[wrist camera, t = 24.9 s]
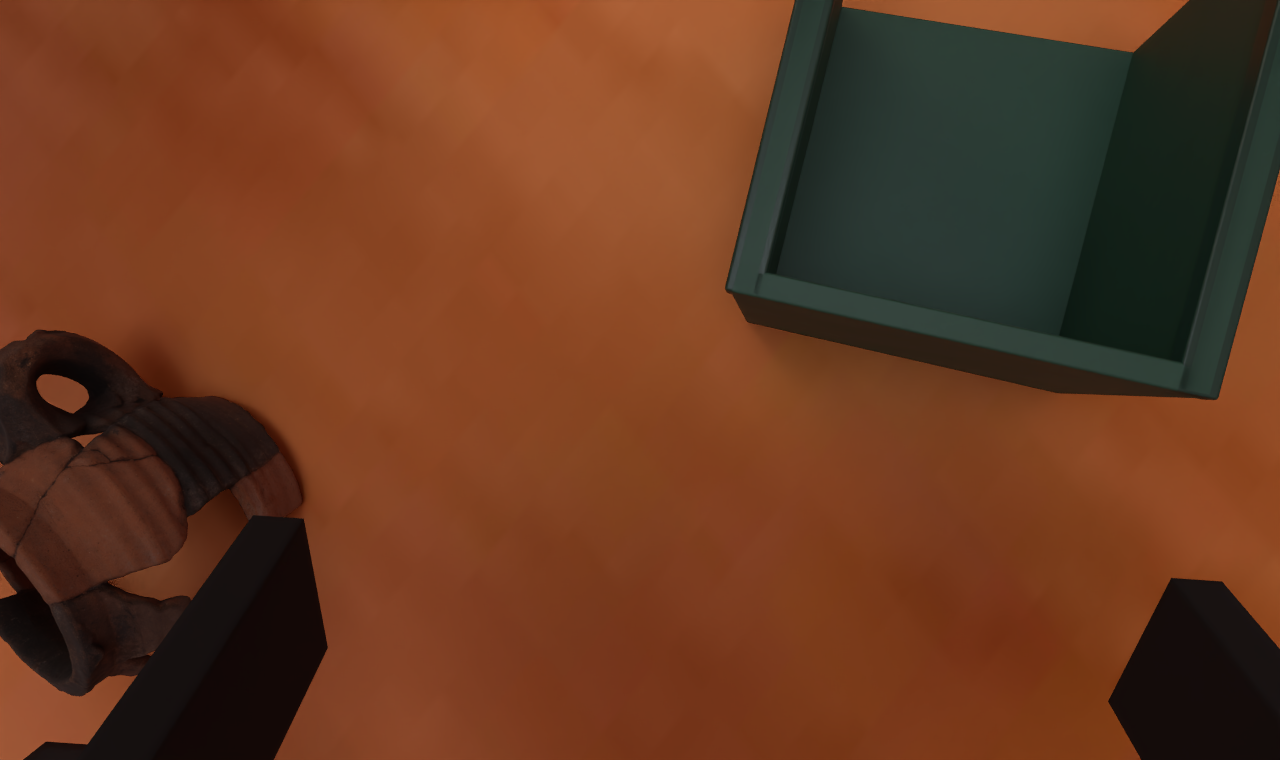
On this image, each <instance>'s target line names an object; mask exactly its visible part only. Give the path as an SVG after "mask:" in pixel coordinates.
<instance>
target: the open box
mask: <svg viewBox="0 0 1280 760" xmlns="http://www.w3.org/2000/svg"><path fill="white" fill-rule="evenodd" d="M842 2H843V0H795V3H794V7H793V11H792V15H791V19H790V23H789V27H788V31H787V35H786V39H785V44H784V48H783V52H782V56H781V60H780V64H779V68H778V72H777V76H776V81H775V85H774V89H773V93H772V97H771V101H770V105H769V109H768V113H767V117H766V122H765V126H764V130H763V134H762V138H761V142H760V146H759V150H758V154H757V158H756V163H755V167H754V171H753V175H752V179H751V183H750V187H749V191H748V195H747V199H746V204H745V208H744V212H743V216H742V220H741V224H740V228H739V232H738V236H737V240H736V245H735V249H734V253H733V257H732V261H731V265H730V269H729V273H728V277H727V281H726V286H725V290H726V292H727V293H729V294H732V295H733V296H734V298H735V300H736V302H737V304H738V306H739V308H740V309H741V311H742V313H743V315H744V317H745V319H746V321H747V322H750V323H754V324H758V325H763V326H767V327H771V328H776V329H780V330H785V331H789V332H793V333H798V334H802V335H806V336H811V337H815V338H819V339H824V340H828V341H833V342H837V343H841V344H846V345H850V346H854V347H859V348H863V349H867V350H872V351H876V352H881V353H885V354H889V355H894V356H898V357H902V358H907V359H911V360H915V361H920V362H924V363H929V364H933V365H937V366H942V367H946V368H950V369H955V370H959V371H963V372H968V373H972V374H977V375H981V376H985V377H990V378H994V379H998V380H1003V381H1007V382H1011V383H1016V384H1020V385H1024V386H1029V387H1033V388H1038V389H1042V390H1046V391H1051V392H1055V393H1070V394H1098V395H1126V396H1153V397H1181V398H1198V399H1204V400H1217V399H1218V397H1219V393H1220V389H1221V385H1222V382H1223V378H1224V374H1225V371H1226V367H1227V363H1228V359H1229V356H1230V352H1231V348H1232V345H1233V341H1234V337H1235V333H1236V330H1237V326H1238V322H1239V319H1240V315H1241V311H1242V307H1243V304H1244V300H1245V296H1246V293H1247V289H1248V285H1249V281H1250V278H1251V274H1252V270H1253V267H1254V263H1255V259H1256V255H1257V252H1258V248H1259V244H1260V241H1261V237H1262V233H1263V229H1264V226H1265V222H1266V218H1267V215H1268V211H1269V207H1270V203H1271V200H1272V196H1273V192H1274V189H1275V185H1276V181H1277V177H1278V174H1279V170H1280V0H1189V1H1188V2H1187V3H1186V4H1185V5H1184V6H1183V7H1182V8H1181V9H1180V10H1179V11H1178V12H1176V13H1175V14H1174V15H1173V16H1172V17H1171V18H1170V19H1169V20H1168V21H1167V22H1166V23H1165V24H1164V25H1163V26H1161V27H1160V28H1159V29H1158V30H1157V31H1156V32H1155V33H1154V34H1153V35H1152V36H1151V37H1150V38H1149V39H1148V40H1147V41H1145V42H1144V43H1143V44H1142V45H1141V46H1140V47H1139V48H1138V49H1137V50H1136V51H1135V52H1134V53H1132V52H1125V51H1119V50H1113V49H1106V48H1100V47H1093V46H1087V45H1081V44H1074V43H1068V42H1062V41H1055V40H1049V39H1043V38H1036V37H1030V36H1024V35H1017V34H1011V33H1005V32H998V31H992V30H986V29H979V28H973V27H966V26H960V25H954V24H947V23H941V22H935V21H928V20H922V19H916V18H909V17H903V16H897V15H890V14H884V13H878V12H871V11H865V10H859V9H852V8H846V7H842Z"/></svg>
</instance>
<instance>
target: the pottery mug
mask: <svg viewBox="0 0 1280 760" xmlns="http://www.w3.org/2000/svg"><path fill="white" fill-rule="evenodd" d="M43 374H52V375H60V376H63V377H67V378H69V379H72V380H74V381H76V382H78V383H79V384H81V385H83V386H84V387H85V388H86V389H87V391H88V394H89V400H88V402H87V403H86V405H84V406H83V407H82V408H80V409H79V410H78V411H76V412H75V413H73V414H72V413H69V412H66V411H64V410H62V409H60V408H57V407H55V406H53V405H51V404H49V403H48V402H46V401H45V400H44V399H43V398H42V397H41V395H40V394H39V392H38V390H37V386H36V381H37V379H38V378H39V377H40V376H41V375H43ZM162 396H163V392H162V391H160V390H158V389H155V388H153V387H151V386H149V385H148V384H146V383H145V382H144V381H143V380H142V379H141V378H140V376H139V375H138V374H137V373H136V372H135V371H134V369H133V368H132V367H131V366H130V365H129V364H127V363H126V362H125V361H124V360H123V359H122V358H120V357H119V356H118V355H116V354H115V353H114V352H112V351H111V350H109V349H108V348H106V347H105V346H103V345H101V344H99V343H98V342H96V341H94V340H91V339H89V338H86V337H84V336H80V335H78V334H75V333H69V332H66V331H57V330H54V331H46V330H35V331H34V332H33V333H32V334H30V335H29V336H28V337H27V339H26V340H24V341H13V342H11V343H9V344H8V345H7V346H5V347H4V348H2V349H0V462H1V463H2V464H3V466H2V467H1V468H0V570H1V572H2V574H3V575H4V577H5V578H6V580H7V581H8V582H9V583H10V585H11V586H12V587H13V588H14V590H15V591H16V592H17V594H15V595H12V596H9V597H6V598H2V599H0V636H1V637H2V639H3V640H4V641H5V642H7V643H8V644H9V645H10V647H11V648H12V649H13V650H14V652H15V653H16V654H17V655H18V656H19V658H20V659H21V660H22V661H24V662H25V663H26V664H27V665H28V666H29V667H30V668H31V669H33V670H34V671H35V672H36V673H38V674H39V675H40V676H41V677H42V678H44V679H46V680H47V681H48V682H49V683H50V684H52V685H53V686H55V687H56V688H57V689H58V690H60V691H64V692H66V693H67V694H70V695H72V696H83V695H85V694H86V693H88V692H90V691H91V690H92V689H93V688H94V686H95V685H96V684H98V683H99V682H101V681H102V680H104V679H105V678H106V677H108V676H117V675H126V676H134V675H138V674H139V673H140V671H141V670H142V668H143V667H144V666H145V664H146V663H147V661H148V660H149V659H150V657H151V656H150V655H147V654H148V653H150V652H152V651H155V650H156V649H157V648H158V646H159V645H160V643H161V642H162V641H163V639H164V638H165V637H166V635H167V634H168V632H169V631H170V630H171V628H172V627H173V625H174V624H175V623H176V621H177V620H178V619H179V617H180V616H181V614H182V613H183V612H184V610H185V609H186V607H187V606H188V605H189V603H190V602H191V599H190V598H189V597H188V596H176V597H172V598H168V599H165V600H163V601H159V600H157V599H155V598H149V597H142V596H138V595H135V594H131V593H128V592H125V591H124V590H122V589H120V588H117V587H115V586H112V585H110V584H109V583H107V581H109V580H112V579H117V578H120V577H123V576H125V575H127V574H130V573H133V572H137V571H139V570H143V569H146V568H149V567H152V566H156V565H160V564H163V563H166V562H168V561H170V560H171V559H172V557H173V556H174V554H176V553H177V552H178V551H179V550H180V549H181V548H182V546H183V544H184V542H185V541H186V539H187V529H188V523H187V517H188V516H190V515H193V514H195V513H196V512H197V511H199V510H200V509H201V508H202V507H203V506H204V505H205V504H206V503H207V502H209V501H210V500H211V499H213V498H214V497H215V496H217V495H218V494H219V493H220V492H222V491H224V490H226V489H230V490H231V492H232V494H233V495H234V496H235V498H236V499H237V500H238V501H239V503H240V506H241V507H242V508H243V510H244V513H245V515H246V517H247V519H248V521H249V520H250V519H251V517H252V516H253V515H258V516H273V517H285V516H287V515H288V514H290V513H291V512H292V511H293V510H295V509H296V508H298V507H299V506H300V505H301V503H302V496H301V494H300V490H299V485H298V482H297V480H296V479H295V477H294V474H293V471H292V469H291V467H290V466H289V465H288V463H287V462H286V460H285V458H284V456H283V455H282V454H281V453H280V451H279V448H278V446H277V445H276V443H275V442H274V441H273V440H272V438H271V437H270V436H269V435H268V434H267V432H266V430H265V428H264V426H263V425H262V424H260V423H259V422H258V421H256V420H255V419H254V418H253V417H252V416H251V414H250V413H249V412H248V411H246V410H244V409H243V408H242V407H241V406H239V405H237V404H235V403H232V402H229V401H228V400H225V399H222V398H219V397H214V396H207V397H194V398H192V397H191V398H187V397H176V398H168V397H162ZM161 397H162V398H161ZM97 433H102V434H101V435H99V436H97V437H95V438H94V439H93V440H92V441H91V442H90V443H89V444H88V445H87V446H86V447H85V448H84V447H83V446H82V445H81V444H80V443H79V442H78V441H76V440H74V439H71V438H73V437H76V436H80V435H89V434H97Z"/></svg>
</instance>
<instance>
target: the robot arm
mask: <svg viewBox="0 0 1280 760" xmlns="http://www.w3.org/2000/svg"><path fill="white" fill-rule="evenodd" d="M327 648H328V646H327V641H326V635H325V630H324V625H323V619H322V614H321V609H320V603H319V598H318V592H317V587H316V582H315V576H314V571H313V566H312V560H311V555H310V550H309V544H308V539H307V534H306V528H305V523H304V519H302V518H287V517H273V516H258V515H253V516H252V517H251V519H250V520H249V522H248V523H247V524H246V526H245V527H244V528H243V530H242V531H241V533H240V534H239V535H238V537H237V538H236V540H235V541H234V542H233V544H232V545H231V546H230V548H229V549H228V551H227V552H226V553H225V555H224V556H223V558H222V559H221V560H220V562H219V563H218V564H217V566H216V567H215V569H214V570H213V571H212V573H211V574H210V576H209V577H208V578H207V580H206V581H205V583H204V584H203V585H202V587H201V588H200V589H199V591H198V592H197V594H196V595H195V596H194V598H193V599H192V601H191V602H190V603H189V605H188V606H187V607H186V609H185V610H184V612H183V613H182V614H181V616H180V617H179V619H178V620H177V621H176V623H175V624H174V625H173V627H172V628H171V630H170V631H169V632H168V634H167V635H166V637H165V638H164V639H163V641H162V642H161V643H160V645H159V646H158V648H157V649H156V650H155V652H154V653H153V655H152V656H151V657H150V659H149V660H148V661H147V663H146V664H145V666H144V667H143V668H142V670H141V671H140V673H139V674H138V675H137V677H136V678H135V680H134V681H133V682H132V684H131V685H130V686H129V688H128V689H127V691H126V692H125V693H124V695H123V696H122V698H121V699H120V700H119V702H118V703H117V704H116V706H115V707H114V709H113V710H112V711H111V713H110V714H109V716H108V717H107V718H106V720H105V721H104V722H103V724H102V725H101V727H100V728H99V729H98V731H97V732H96V734H95V735H94V736H93V738H92V739H91V740H90V742H89V743H88V745H86V744H72V743H57V742H45V743H44V744H42V745H41V746H40V747H39V748H37V749H36V750H35V751H34V752H32V753H31V754H30V755H29V756H27V757H26V758H25V759H23V760H274V758H275V756H276V754H277V752H278V750H279V748H280V746H281V744H282V742H283V740H284V738H285V735H286V733H287V731H288V729H289V727H290V725H291V723H292V721H293V719H294V717H295V715H296V713H297V711H298V708H299V706H300V704H301V702H302V700H303V698H304V696H305V694H306V692H307V690H308V688H309V686H310V684H311V682H312V679H313V677H314V675H315V673H316V671H317V669H318V667H319V665H320V663H321V661H322V659H323V657H324V655H325V652H326V650H327ZM1108 702H1109V704H1110V706H1111V707H1112V709H1113V711H1114V713H1115V714H1116V716H1117V718H1118V720H1119V721H1120V723H1121V725H1122V727H1123V728H1124V730H1125V732H1126V734H1127V735H1128V737H1129V739H1130V741H1131V742H1132V744H1133V746H1134V748H1135V749H1136V751H1137V753H1138V755H1139V756H1140V758H1141V760H1280V649H1279V648H1278V647H1277V645H1276V644H1275V643H1274V642H1273V641H1272V640H1271V638H1270V637H1269V636H1268V635H1267V634H1266V633H1265V631H1264V630H1263V629H1262V628H1261V627H1260V625H1259V624H1258V623H1257V622H1256V621H1255V620H1254V618H1253V617H1252V616H1251V615H1250V614H1249V613H1248V611H1247V610H1246V609H1245V608H1244V607H1243V606H1242V604H1241V603H1240V602H1239V601H1238V600H1237V599H1236V597H1235V596H1234V595H1233V594H1232V593H1231V592H1230V590H1229V589H1228V588H1227V587H1226V586H1225V585H1224V583H1223V582H1221V581H1206V580H1191V579H1177V578H1171V580H1170V582H1169V584H1168V586H1167V588H1166V589H1165V591H1164V593H1163V595H1162V597H1161V599H1160V601H1159V603H1158V605H1157V607H1156V609H1155V611H1154V613H1153V615H1152V617H1151V619H1150V621H1149V623H1148V625H1147V626H1146V628H1145V630H1144V632H1143V634H1142V636H1141V638H1140V640H1139V642H1138V644H1137V646H1136V648H1135V650H1134V652H1133V654H1132V656H1131V658H1130V660H1129V662H1128V663H1127V665H1126V667H1125V669H1124V671H1123V673H1122V675H1121V677H1120V679H1119V681H1118V683H1117V685H1116V687H1115V689H1114V691H1113V693H1112V695H1111V697H1110V698H1109V700H1108Z"/></svg>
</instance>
